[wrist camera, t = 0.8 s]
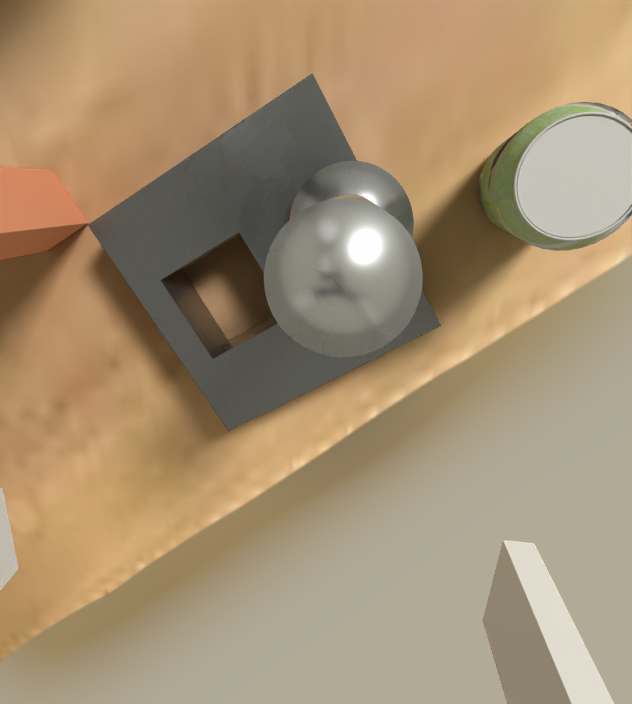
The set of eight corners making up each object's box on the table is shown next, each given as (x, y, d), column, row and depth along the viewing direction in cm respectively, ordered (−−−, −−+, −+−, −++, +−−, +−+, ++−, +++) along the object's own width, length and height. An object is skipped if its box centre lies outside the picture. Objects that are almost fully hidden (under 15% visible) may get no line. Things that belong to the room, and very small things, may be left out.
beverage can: (571, 227, 30) (698, 249, 19) (454, 241, 31) (511, 269, 20) (575, 121, 28) (720, 75, 17) (451, 139, 29) (511, 106, 18)
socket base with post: (118, 221, 33) (-295, 274, 12) (339, 74, 29) (295, -232, 8) (241, 406, 37) (91, 689, 16) (450, 300, 33) (617, 491, 12)
